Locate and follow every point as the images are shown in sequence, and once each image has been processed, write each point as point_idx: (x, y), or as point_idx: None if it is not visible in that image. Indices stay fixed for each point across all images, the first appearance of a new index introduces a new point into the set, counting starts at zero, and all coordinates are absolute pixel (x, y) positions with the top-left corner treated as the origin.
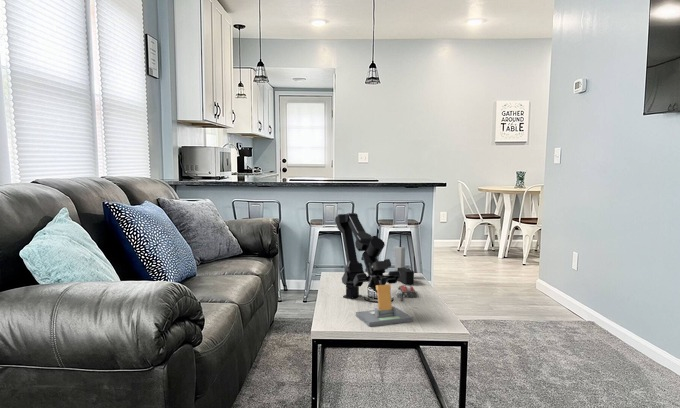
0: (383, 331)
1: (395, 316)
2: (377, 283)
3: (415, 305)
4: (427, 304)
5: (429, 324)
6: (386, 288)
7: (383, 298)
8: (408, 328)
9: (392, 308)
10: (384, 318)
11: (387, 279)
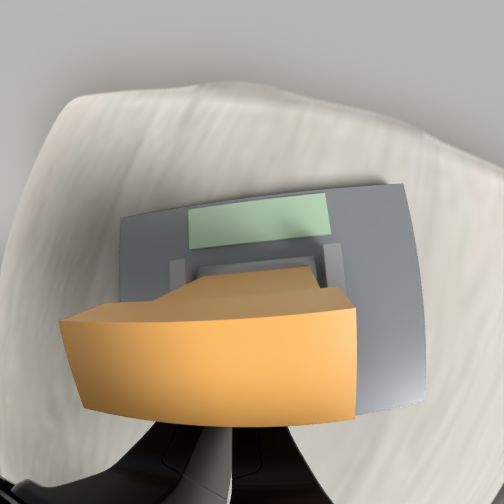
0: (338, 116)
1: (205, 243)
2: (274, 494)
3: (49, 432)
4: (17, 415)
5: (95, 172)
6: (165, 304)
7: (256, 287)
8: (201, 131)
9: None
10: (292, 221)
11: (43, 486)
